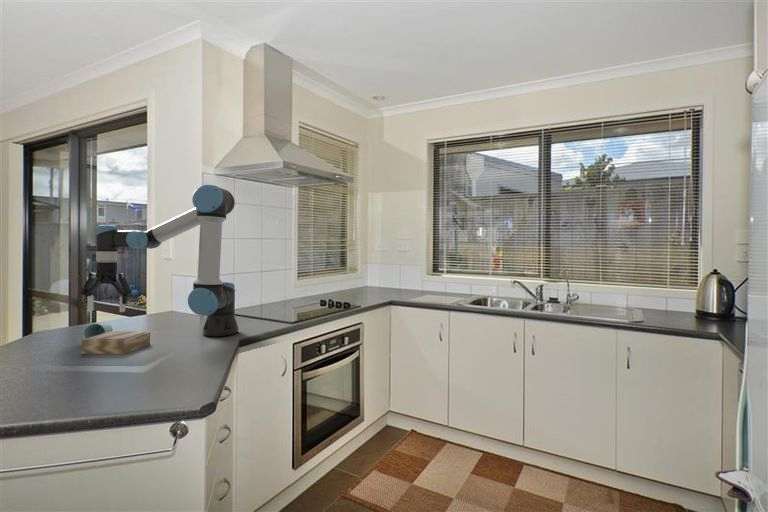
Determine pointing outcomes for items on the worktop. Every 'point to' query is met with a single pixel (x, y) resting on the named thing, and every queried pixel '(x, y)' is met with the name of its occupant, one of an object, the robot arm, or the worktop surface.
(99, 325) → the cup
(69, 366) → the worktop surface
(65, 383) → the worktop surface
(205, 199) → the robot arm
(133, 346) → the base
